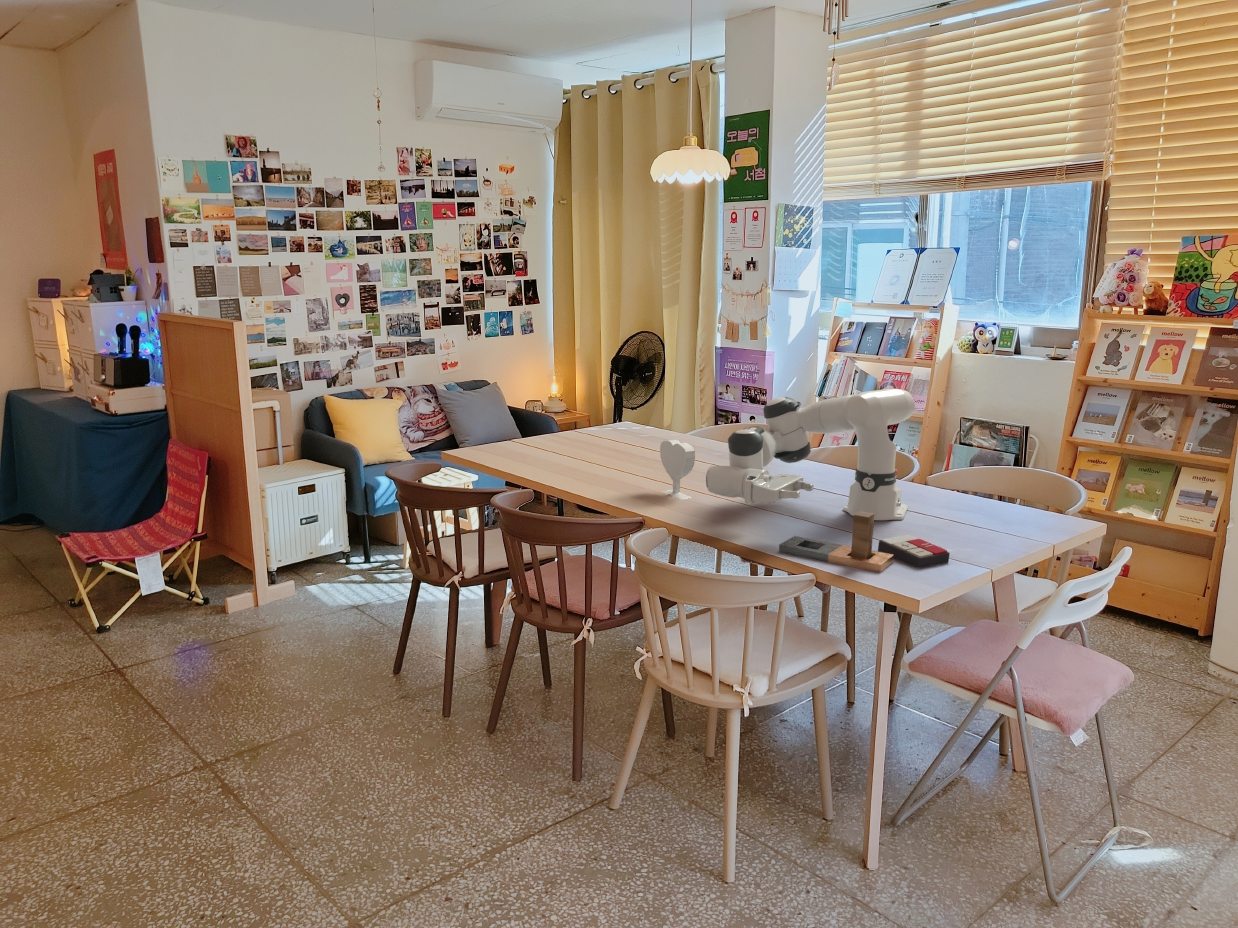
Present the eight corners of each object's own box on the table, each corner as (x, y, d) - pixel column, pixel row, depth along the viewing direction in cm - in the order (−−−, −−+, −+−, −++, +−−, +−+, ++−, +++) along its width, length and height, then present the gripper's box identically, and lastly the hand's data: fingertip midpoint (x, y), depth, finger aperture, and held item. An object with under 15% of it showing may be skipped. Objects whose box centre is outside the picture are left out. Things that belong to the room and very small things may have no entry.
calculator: (920, 556, 232) (878, 537, 245) (918, 571, 233) (876, 552, 246) (950, 550, 237) (908, 532, 250) (948, 565, 238) (906, 546, 251)
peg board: (794, 542, 253) (794, 535, 252) (893, 561, 237) (894, 554, 237) (778, 551, 245) (779, 544, 244) (880, 572, 229) (881, 564, 229)
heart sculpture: (695, 498, 298) (697, 445, 294) (683, 500, 296) (684, 446, 292) (669, 488, 311) (670, 437, 307) (657, 490, 309) (658, 438, 305)
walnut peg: (856, 558, 240) (859, 511, 237) (870, 561, 238) (874, 513, 235) (850, 562, 237) (853, 514, 234) (865, 565, 235) (868, 517, 232)
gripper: (774, 488, 261) (820, 494, 253) (742, 504, 244) (790, 511, 236) (774, 467, 259) (820, 472, 252) (742, 481, 243) (790, 487, 235)
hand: (805, 491), depth 244 cm, fingers open, 8 cm apart
